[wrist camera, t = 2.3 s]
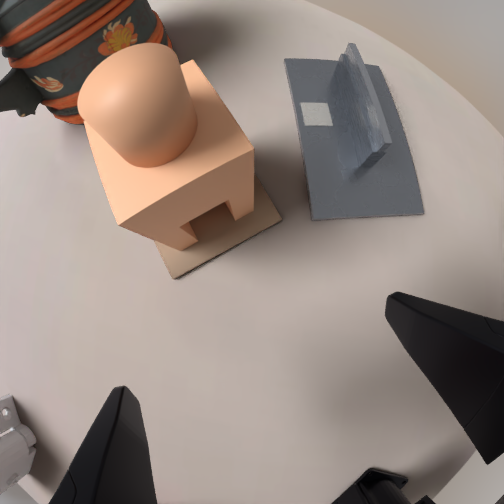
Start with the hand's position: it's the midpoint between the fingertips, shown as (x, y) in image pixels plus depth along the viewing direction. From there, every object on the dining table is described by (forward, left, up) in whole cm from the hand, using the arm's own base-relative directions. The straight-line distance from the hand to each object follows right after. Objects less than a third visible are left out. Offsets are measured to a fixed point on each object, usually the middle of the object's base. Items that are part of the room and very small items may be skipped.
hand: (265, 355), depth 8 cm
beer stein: (+26, -9, -12) cm, 30 cm away
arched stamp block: (+8, -5, -11) cm, 15 cm away
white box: (+14, +32, -12) cm, 37 cm away
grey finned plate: (+1, -17, -12) cm, 21 cm away
